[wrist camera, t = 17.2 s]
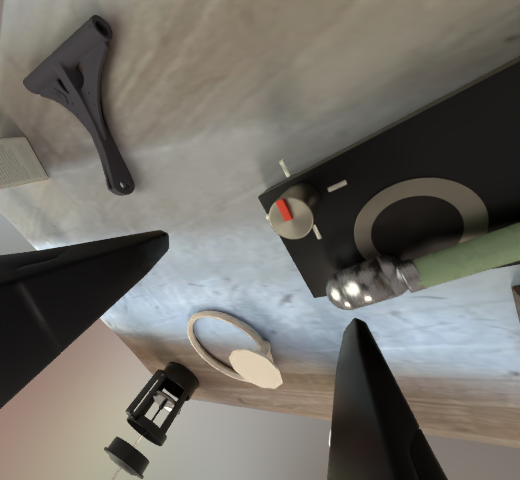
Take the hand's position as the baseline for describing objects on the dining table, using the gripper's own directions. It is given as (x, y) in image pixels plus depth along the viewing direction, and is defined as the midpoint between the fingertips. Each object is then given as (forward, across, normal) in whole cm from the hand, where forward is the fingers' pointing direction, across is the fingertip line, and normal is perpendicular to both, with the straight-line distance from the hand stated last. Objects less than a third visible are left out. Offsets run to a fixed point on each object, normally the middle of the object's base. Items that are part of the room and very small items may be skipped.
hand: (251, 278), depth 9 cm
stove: (+13, -7, -1) cm, 15 cm away
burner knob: (+10, 0, 0) cm, 10 cm away
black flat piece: (+13, +25, +1) cm, 28 cm away
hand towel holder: (+13, +2, +29) cm, 32 cm away
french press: (+13, +14, +53) cm, 57 cm away
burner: (+10, -8, -1) cm, 14 cm away
